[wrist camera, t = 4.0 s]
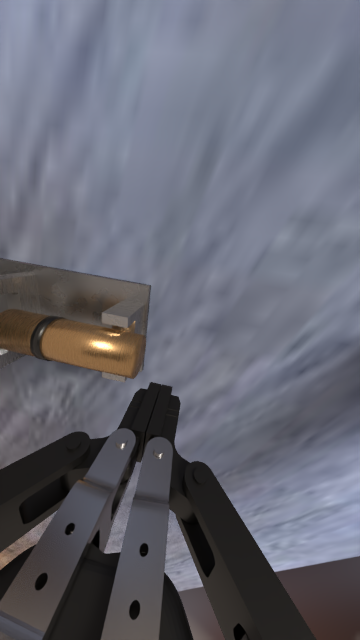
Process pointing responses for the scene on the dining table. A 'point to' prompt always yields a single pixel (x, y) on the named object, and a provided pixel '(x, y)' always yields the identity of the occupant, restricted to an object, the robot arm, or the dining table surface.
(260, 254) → the dining table surface
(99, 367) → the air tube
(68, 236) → the dining table surface
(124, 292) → the collar stand
